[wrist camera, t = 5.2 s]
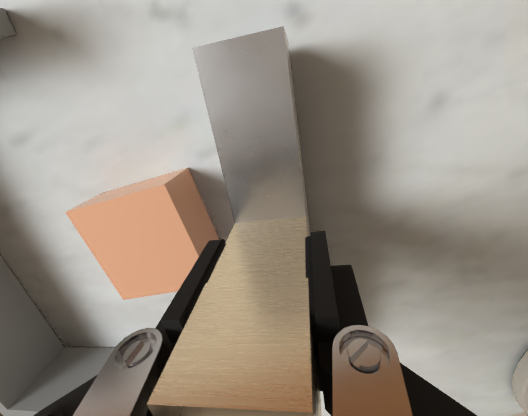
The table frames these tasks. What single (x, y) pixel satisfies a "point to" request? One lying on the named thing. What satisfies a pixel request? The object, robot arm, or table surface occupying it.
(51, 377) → the box
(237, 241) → the scraper
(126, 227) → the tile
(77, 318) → the table surface
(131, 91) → the table surface
